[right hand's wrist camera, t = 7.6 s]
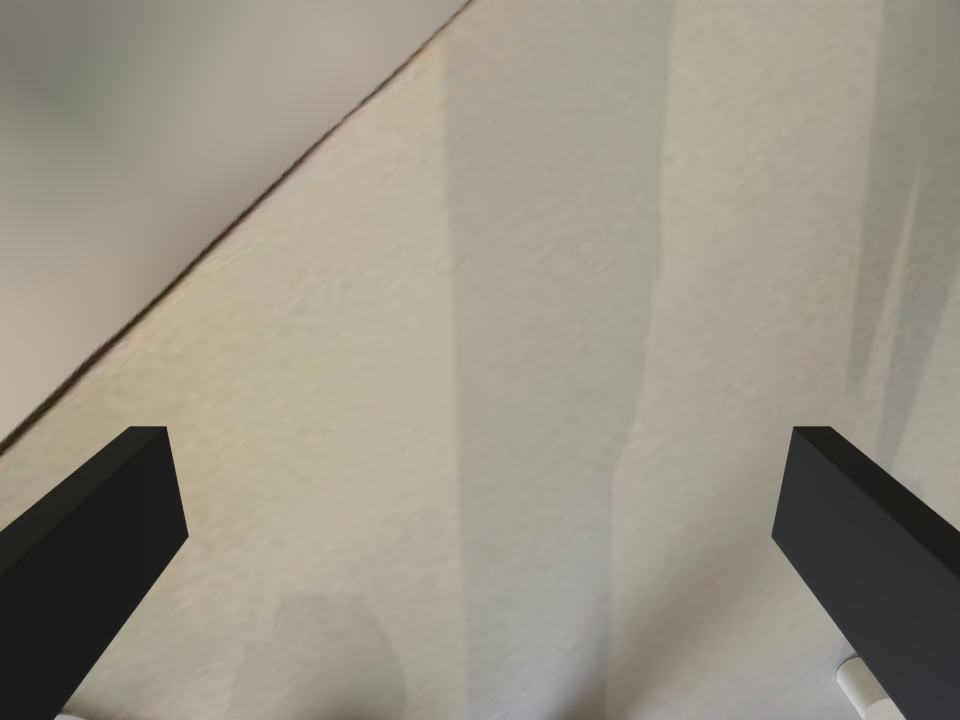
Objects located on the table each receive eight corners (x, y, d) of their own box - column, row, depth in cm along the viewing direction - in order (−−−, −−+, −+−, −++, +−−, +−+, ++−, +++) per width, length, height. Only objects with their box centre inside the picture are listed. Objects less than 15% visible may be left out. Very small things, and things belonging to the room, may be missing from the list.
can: (830, 666, 53) (858, 708, 49) (870, 650, 52) (902, 691, 48) (843, 692, 54) (871, 736, 50) (883, 677, 53) (915, 720, 49)
